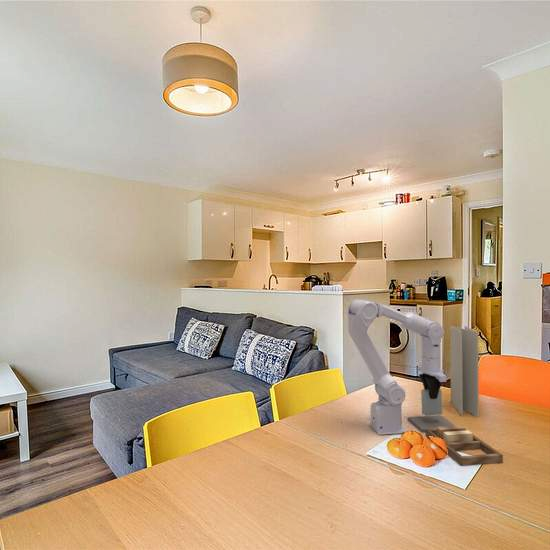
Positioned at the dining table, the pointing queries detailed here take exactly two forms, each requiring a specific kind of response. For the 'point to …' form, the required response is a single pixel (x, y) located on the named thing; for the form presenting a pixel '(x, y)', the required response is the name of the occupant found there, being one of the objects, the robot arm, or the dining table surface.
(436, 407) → the grey rectangular block
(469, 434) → the birch offcut
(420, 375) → the robot arm
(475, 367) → the brochure
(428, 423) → the rubber mat
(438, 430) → the stained offcut
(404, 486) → the dining table surface
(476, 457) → the walnut rack
